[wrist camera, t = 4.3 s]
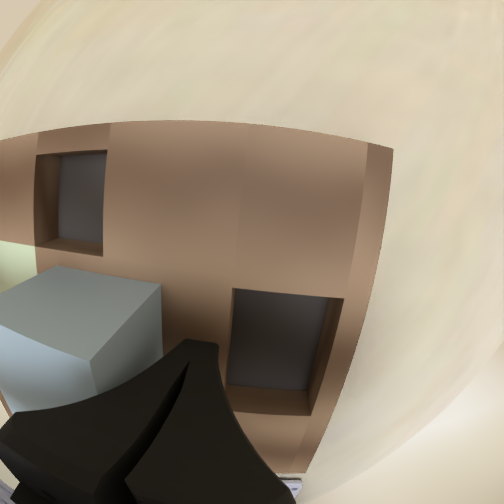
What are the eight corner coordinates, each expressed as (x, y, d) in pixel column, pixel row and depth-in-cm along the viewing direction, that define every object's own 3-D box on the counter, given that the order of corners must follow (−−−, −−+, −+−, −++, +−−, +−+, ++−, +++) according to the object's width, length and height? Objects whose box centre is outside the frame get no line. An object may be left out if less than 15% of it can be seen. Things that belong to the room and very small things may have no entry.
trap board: (302, 449, 14) (308, 499, 10) (37, 389, 14) (10, 418, 11) (372, 153, 10) (422, 142, 6) (5, 146, 10) (-44, 145, 7)
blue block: (165, 388, 11) (127, 476, 6) (73, 362, 11) (17, 423, 6) (161, 284, 10) (89, 361, 5) (57, 265, 10) (-28, 309, 5)
